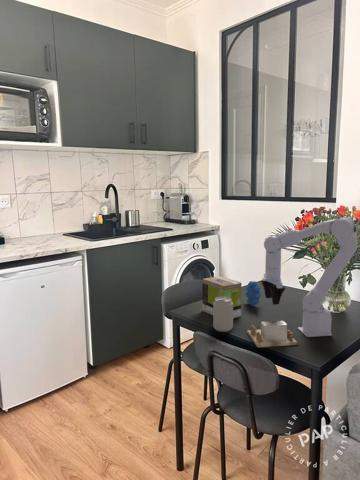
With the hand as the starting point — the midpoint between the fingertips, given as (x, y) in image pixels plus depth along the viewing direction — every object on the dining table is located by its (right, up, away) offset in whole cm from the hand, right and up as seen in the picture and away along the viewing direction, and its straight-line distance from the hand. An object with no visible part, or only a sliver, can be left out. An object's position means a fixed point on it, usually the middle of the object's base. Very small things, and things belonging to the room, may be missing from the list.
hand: (272, 300), depth 139 cm
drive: (-3, -11, -15) cm, 19 cm away
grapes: (-2, -6, +22) cm, 23 cm away
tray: (-3, -11, -12) cm, 17 cm away
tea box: (-18, -8, +13) cm, 24 cm away
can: (-20, -10, -3) cm, 22 cm away
